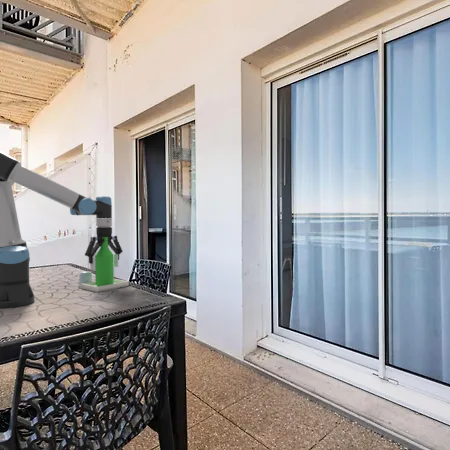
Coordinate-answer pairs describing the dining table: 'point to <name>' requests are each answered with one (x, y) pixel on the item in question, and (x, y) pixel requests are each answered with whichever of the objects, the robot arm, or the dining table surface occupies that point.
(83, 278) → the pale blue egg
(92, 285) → the tray
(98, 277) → the bottle
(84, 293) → the dining table surface
